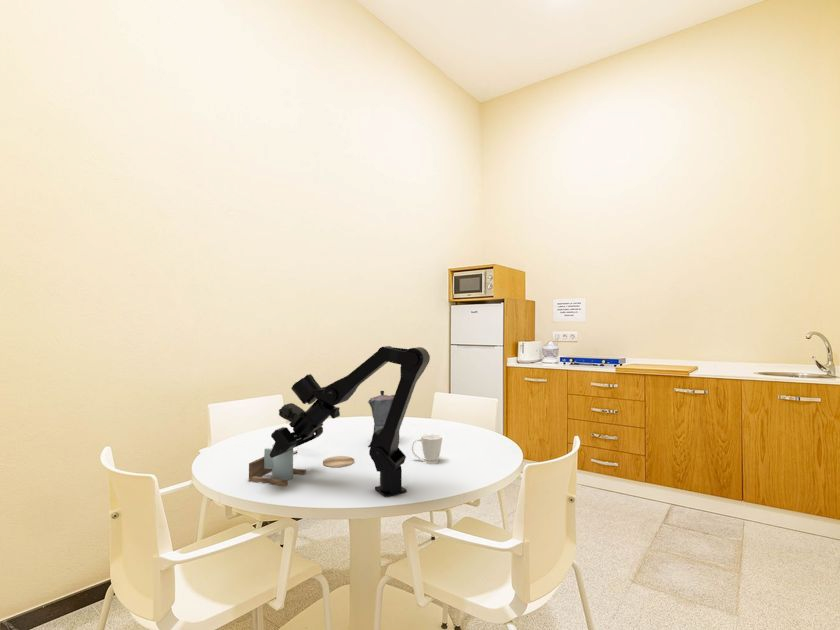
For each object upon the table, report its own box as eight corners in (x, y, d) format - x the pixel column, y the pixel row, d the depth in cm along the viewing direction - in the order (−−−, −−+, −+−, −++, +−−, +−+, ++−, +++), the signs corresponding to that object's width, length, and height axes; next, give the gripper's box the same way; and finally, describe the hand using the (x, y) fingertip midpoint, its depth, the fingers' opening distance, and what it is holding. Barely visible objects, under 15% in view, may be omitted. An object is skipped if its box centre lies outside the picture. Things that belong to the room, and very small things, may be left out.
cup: (441, 465, 133) (441, 439, 133) (410, 464, 134) (410, 438, 135) (443, 458, 140) (443, 434, 140) (413, 457, 141) (413, 433, 142)
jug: (296, 475, 124) (297, 443, 124) (285, 482, 118) (285, 448, 118) (271, 472, 126) (271, 440, 126) (258, 479, 120) (259, 445, 121)
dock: (305, 473, 125) (306, 456, 125) (285, 485, 115) (285, 467, 116) (271, 469, 129) (271, 453, 129) (248, 481, 119) (249, 463, 119)
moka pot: (360, 445, 156) (361, 390, 157) (392, 437, 167) (392, 387, 168) (376, 450, 149) (377, 393, 150) (408, 442, 160) (408, 389, 161)
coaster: (359, 464, 134) (359, 462, 134) (329, 469, 129) (329, 467, 129) (347, 456, 143) (347, 454, 143) (318, 460, 137) (318, 459, 137)
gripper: (314, 390, 130) (283, 423, 133) (278, 400, 112) (242, 438, 115) (337, 417, 127) (304, 451, 130) (303, 432, 110) (266, 470, 112)
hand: (280, 451), depth 122 cm, fingers open, 9 cm apart
